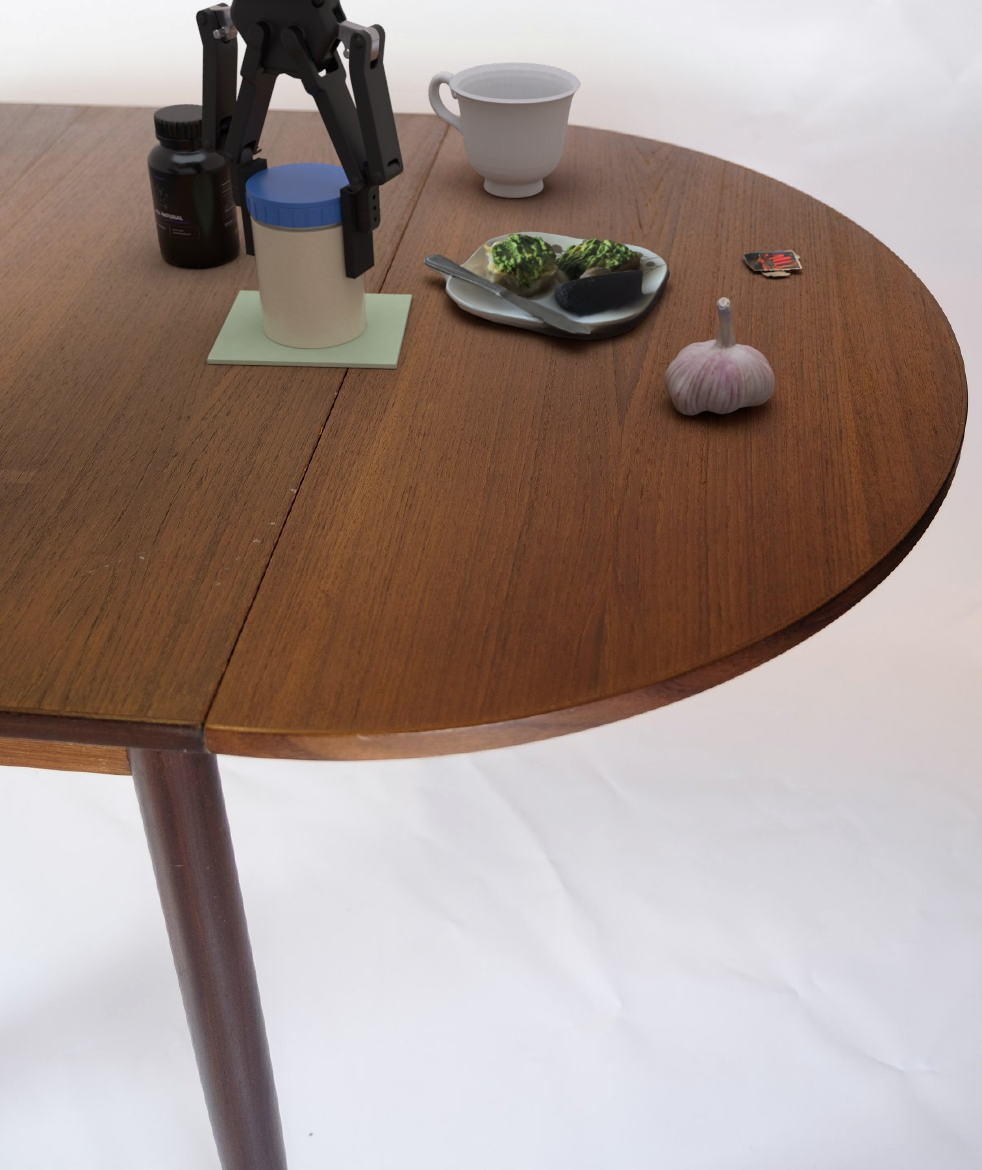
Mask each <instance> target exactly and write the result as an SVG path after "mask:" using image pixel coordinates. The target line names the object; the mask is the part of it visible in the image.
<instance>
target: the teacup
mask: <svg viewBox="0 0 982 1170" xmlns="http://www.w3.org/2000/svg"><path fill="white" fill-rule="evenodd" d="M442 84H445V85H446V86H448V87H449V89H450V94H451V97H452V99H454V100H457V104H458V108H459V109H458V110H459V115H460V117H459V116H458V115H456V114H455V113H453V112H451V111H450V110H449V108H448V107H446V105H445V104H444V102H443V101H442V99H441V95H440V87H441V85H442ZM580 88H581V81H580V79H579V78H578V77H577V76H576V75H575V74H574V73H572V72H570V71H568V70H566V69H563V68H560V67H556V66H553V65H547V64H542V63H533V62H497V63H496V62H495V63H486V64H481V65H475V66H471V67H468V68H466V69H462V70H460V71H459V72H457V73H456V74H454V73H453V72H451V71H447V70H445V71H444V70H443V71H439V72H436V73H435V74H434V75H433V76H432V77H431V80H430V81H429V85H428V91H427V93H428V95H427V96H428V102H429V105H430V107H431V109H432V111H433V112H434V113H435V115H436V116H437V117H438V119H440V120H442V121H443V122H444V123H446V124H448V125H449V126H451V127H453V128H454V129H456V130H457V132H459V133H460V135H461V136H462V138H463V139H462V140H463V146H464V151H465V155H466V158H467V161H468V163H469V166H470V167H471V169H472V170H473V171H474V172H475V173H477V175H479V176H481V177H483V178H484V183H483V188H484V190H485V191H486V192H487V193H489V194H490V195H492V196H495V197H500V198H507V199H521V198H529V197H533V196H535V195H538V194H539V193H541V192H542V191H543V189H544V181H543V179H544V178H546V177H548V176H549V175H550V174H552V173H553V172H554V171H555V170H556V169H557V167H558V165H559V164H560V162H561V159H562V156H563V152H564V148H565V142H566V138H567V137H566V136H567V130H568V124H569V117H570V110H571V106H572V102H573V98H574V95H575V94H576V92H578V90H579V89H580Z"/></svg>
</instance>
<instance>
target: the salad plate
mask: <svg viewBox="0 0 982 1170" xmlns="http://www.w3.org/2000/svg"><path fill="white" fill-rule="evenodd" d="M423 264H424V265H425V267H426V268H428V269H430V270H431V271H433V272H435V273H436V274H438V275H440V276H441V277H442V278H443V280H445V292H446V295H448V297H450V299H452V301H453V302H454V303H456V304H457V306H458V307H459V308H460V309H461V310H463V311H465V312H468V313H470V314H472V315H475V316H477V317H480V318H482V319H484V320H487V321H489V322H492V323H497V324H501V325H505V326H510V327H515V328H520V329H524V330H528V331H532V332H536V333H540V334H543V335H547V336H552V337H558V338H564V339H572V340H583V341H587V340H588V341H590V340H601V339H608V338H612V337H616V336H619V335H621V334H625V333H627V332H630V331H631V330H633V329H634V328H636V327H637V326H638V325H639V324H640V323H641V322H642V320H643V319H645V318H646V316H648V314H649V313H650V311H652V309H653V308H654V307H655V306H656V303H657V302H658V300H659V299H660V296H661V295H662V294H663V292H664V290H665V288H666V286H667V284H668V281H669V278H670V275H671V272H670V269H669V268H668V264H667V262H666V261H665V260H664V258H662V257H661V256H660V255H658V254H656V253H655V252H653V251H651V250H650V249H647V248H644V247H642V246H638V245H633V244H628V243H627V244H626V243H621V242H615V241H614V240H611V239H604V240H600V239H597V238H596V237H595V238H590V239H582V238H576V237H571V236H568V235H559V234H555V233H547V232H540V231H521V232H514V233H508V234H503V235H500V236H496V237H493V238H491V239H490V238H489V240H487V241H485V242H483V243H482V245H480V246H479V247H478V249H477V250H476V251H475V252H474V253H472V255H471V256H470V257H469V258H468V259H467V260H466V261H465V262H464V263H463V264H458V263H456V262H455V261H453V260H452V259H449V258H447V257H446V256H444V255H442V254H430V255H428V256H426V257H424V258H423Z"/></svg>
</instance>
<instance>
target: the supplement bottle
mask: <svg viewBox="0 0 982 1170" xmlns="http://www.w3.org/2000/svg"><path fill="white" fill-rule="evenodd" d="M153 123H154V137H155V139H156V140H157V141H158V142H157V143H156V144H154V146H152V147H151V148H150V150H149V153H148V155H147V157H146V158H147V159H146V161H147V162H146V163H147V169H148V170H147V171H148V178H149V184H150V191H151V198H152V205H153V212H154V213H153V214H154V219H155V226H156V232H157V238H158V245H159V251H160V254H161V255H162V257H163V258H164V259H165V260H166V261H167V262H168V263H170V264H172V265H176V266H177V267H178V266H179V267H184V268H190V269H191V268H193V269H194V268H195V269H198V268H201V269H202V268H210V267H216V266H219V265H223V264H225V263H228V262H229V261H231V260H233V259H234V258H235V257H236V256H237V255H238V253H239V251H240V248H241V241H240V240H241V239H240V229H239V219H238V209H237V206H236V205H235V203H234V201H233V197H232V189H231V186H232V185H231V180H230V172H229V166H228V164H227V163H226V162H225V160H224V158H223V157H222V156H220V155H219V154H217V153H216V152H213V153H208V152H207V151H205V149H204V148H203V146H202V104H193V103H190V104H189V103H179V104H173V105H172V104H171V105H166V106H164V107H160V108H159V109H157V110H155V111H154V113H153Z"/></svg>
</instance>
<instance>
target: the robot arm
mask: <svg viewBox="0 0 982 1170" xmlns="http://www.w3.org/2000/svg"><path fill="white" fill-rule="evenodd" d="M195 20H196V21H195V22H196V26H197V29H198V33H199V36H200V37H199V38H200V42H201V45H202V75H201V77H202V78H201V79H202V80H201V82H202V85H201V87H202V88H201V89H202V90H201V91H202V92H201V105H202V146H203V148H204V149H205V151H207V152H208V153H213V152H216V153H217V154H219V155H220V156H222V157H223V158H224V160H225V162H226V163H227V164H228V166H229V172H230V180H231V185H232V186H231V189H232V197H233V201H234V203H235V205H236V207H239V208H240V213H241V221H242V228H243V237H244V246H245V254H246V256H250V257H251V256H252V257H255V253H254V244H253V235H252V226H251V217H250V214H249V210H248V209H247V203H246V195H245V192H246V182H247V180H248V179H249V178H250V177H251V176H253V175H254V174H256V173H258V172H260V171H262V170H265V169H268V168H269V167H268V160H267V158H263V157H256V158H254V157H255V156H256V155H258V154H260V153H261V152H262V151H263V148H260V146H259V143H260V140H261V138H262V137H261V136H262V133H263V130H264V126H265V122H266V118H267V115H268V112H269V108H270V103H271V102H272V101H271V100H272V97H273V94H274V90H275V85H276V82H277V79H278V77H279V76H280V75H286V76H289V77H290V78H292V79H296V80H300V82H301V84H302V87H303V89H304V91H305V93H307V95H309V96H311V97H312V98H313V101H314V103H315V105H316V108H317V110H318V112H319V114H320V117H321V119H322V122H323V124H324V126H325V127H324V128H325V129H326V131H327V134H328V137H329V138H330V141H331V143H332V146H333V148H334V150H335V154H336V155H337V158H338V160H339V163H340V165H341V167H343V169H344V172H345V174H346V177H347V179H348V181H349V184H348V185H346V186H344V187H343V188H341V189H340V200H341V214H342V227H343V241H344V255H345V269H346V277H347V278H352V279H356V278H357V277H359V276H360V275H362V274H363V273H366V272H367V271H369V270H371V269H372V268H374V267H375V252H374V234H373V233H374V232H373V231H374V230H377V229H378V228H379V227H380V224H381V221H382V219H381V201H380V186H384V185H385V184H387V183H388V182H390V181H392V180H393V179H396V178H397V177H399V176H400V175H401V174H402V173H403V172H404V162H403V156H402V152H401V151H402V150H401V146H400V142H399V136H398V131H397V127H396V126H397V125H396V121H395V115H394V110H393V106H392V100H391V95H390V90H389V84H388V80H387V76H386V75H387V74H386V70H385V65H384V57H385V46H386V31H385V29H384V27H383V26H382V25H381V24H378V23H375V24H372V25H370V26H364V25H361V24H358V23H356V22H353V21H350V20H348V18H347V14H346V13H345V11H344V9H343V7H342V4H341V0H231V4H230V5H229V4H227V3H226V2H220V3H218V4H214V5H211V6H209V7H206V8H203V9H200V10H198V11H197V12H196V14H195ZM238 33H239V36H240V37H241V39H242V41H244V43H245V50H244V54H243V59H242V62H241V66H240V69H239V70H240V71H239V75H240V77H241V81H240V86H239V89H238V65H239V64H238V61H239V42H238ZM341 43H342V45H343V47H344V50H343V51H342V55H343V57H344V58H345V59H346V60H348V75H349V81H350V85H351V90H352V94H353V97H352V95H351V92H350V90H349V87H348V84H347V82H346V80H347V76H348V75H347V72H346V68H345V65H344V63H343V61H342V58H341V56H340V53H339V51H338V48H339V46H340V45H341ZM324 70H325V74H324V75H320V73H322V72H323V71H324Z"/></svg>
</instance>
